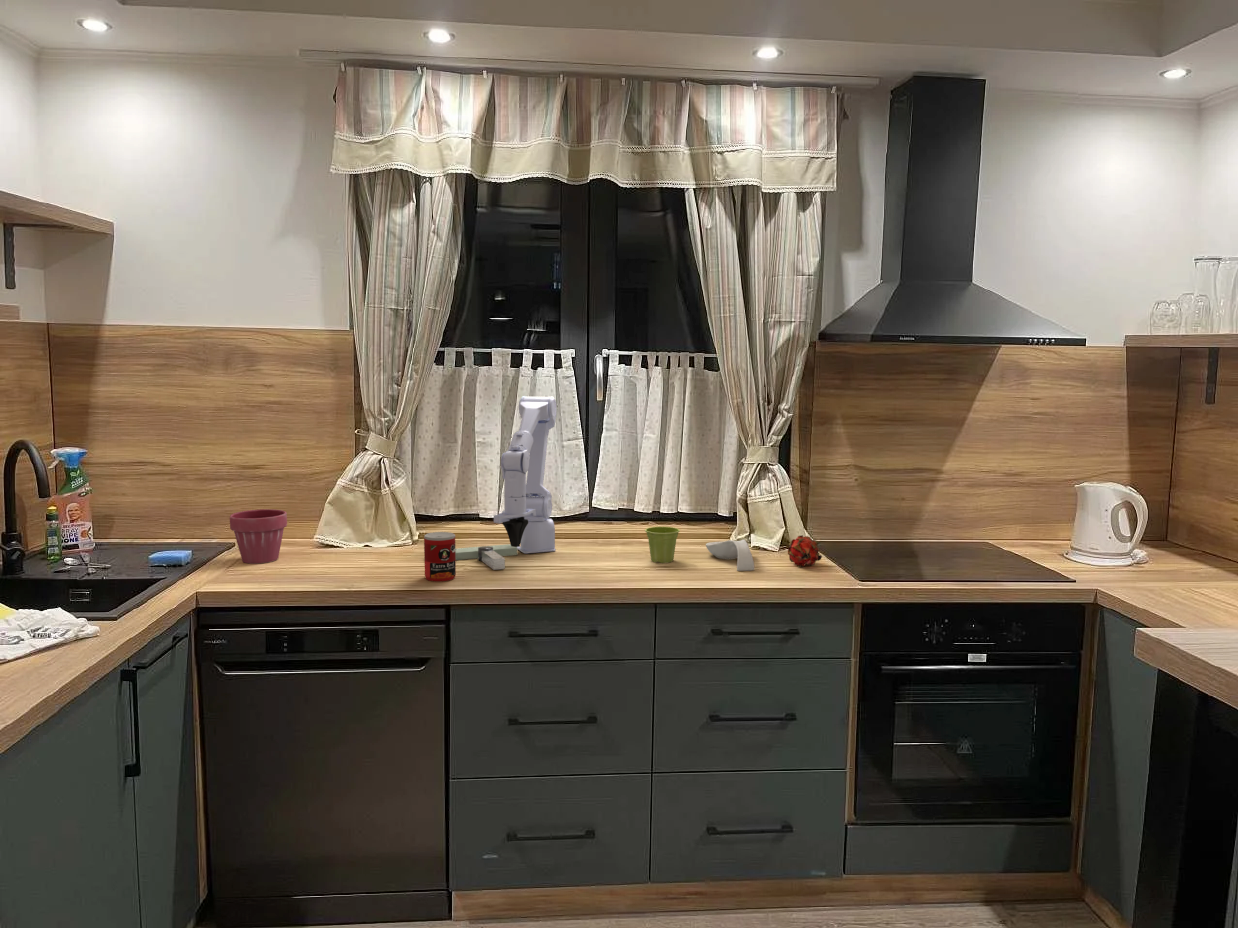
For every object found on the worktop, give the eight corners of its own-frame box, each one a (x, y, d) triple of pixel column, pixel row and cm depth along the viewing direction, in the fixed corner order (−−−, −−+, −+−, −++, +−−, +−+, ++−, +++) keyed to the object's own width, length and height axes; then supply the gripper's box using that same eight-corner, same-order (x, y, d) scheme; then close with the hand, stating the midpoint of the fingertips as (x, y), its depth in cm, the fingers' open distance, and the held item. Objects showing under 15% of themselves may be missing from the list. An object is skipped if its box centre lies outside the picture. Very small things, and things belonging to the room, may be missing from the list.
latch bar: (476, 558, 253) (476, 546, 253) (490, 557, 255) (490, 545, 255) (491, 569, 240) (491, 557, 240) (506, 568, 242) (506, 556, 241)
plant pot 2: (653, 565, 247) (653, 533, 246) (639, 558, 256) (639, 527, 255) (685, 563, 250) (685, 531, 249) (670, 556, 259) (670, 525, 258)
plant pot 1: (229, 567, 241) (227, 519, 240) (233, 556, 255) (231, 510, 253) (288, 564, 246) (286, 516, 244) (288, 553, 259) (287, 507, 258)
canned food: (429, 583, 227) (429, 539, 226) (420, 576, 234) (420, 533, 233) (460, 579, 230) (459, 536, 229) (450, 573, 237) (449, 530, 236)
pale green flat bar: (511, 550, 264) (511, 544, 264) (517, 554, 259) (517, 547, 259) (427, 558, 254) (427, 550, 254) (431, 562, 249) (431, 554, 249)
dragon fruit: (804, 565, 256) (807, 581, 245) (779, 547, 256) (781, 563, 244) (823, 542, 254) (828, 558, 242) (799, 524, 253) (802, 539, 242)
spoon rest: (700, 553, 264) (700, 528, 263) (740, 552, 266) (740, 527, 265) (725, 572, 241) (726, 545, 240) (768, 571, 243) (769, 544, 242)
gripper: (522, 491, 255) (522, 540, 257) (485, 497, 243) (485, 548, 245) (541, 493, 251) (541, 543, 253) (504, 500, 239) (505, 552, 241)
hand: (515, 546), depth 248 cm, fingers closed
